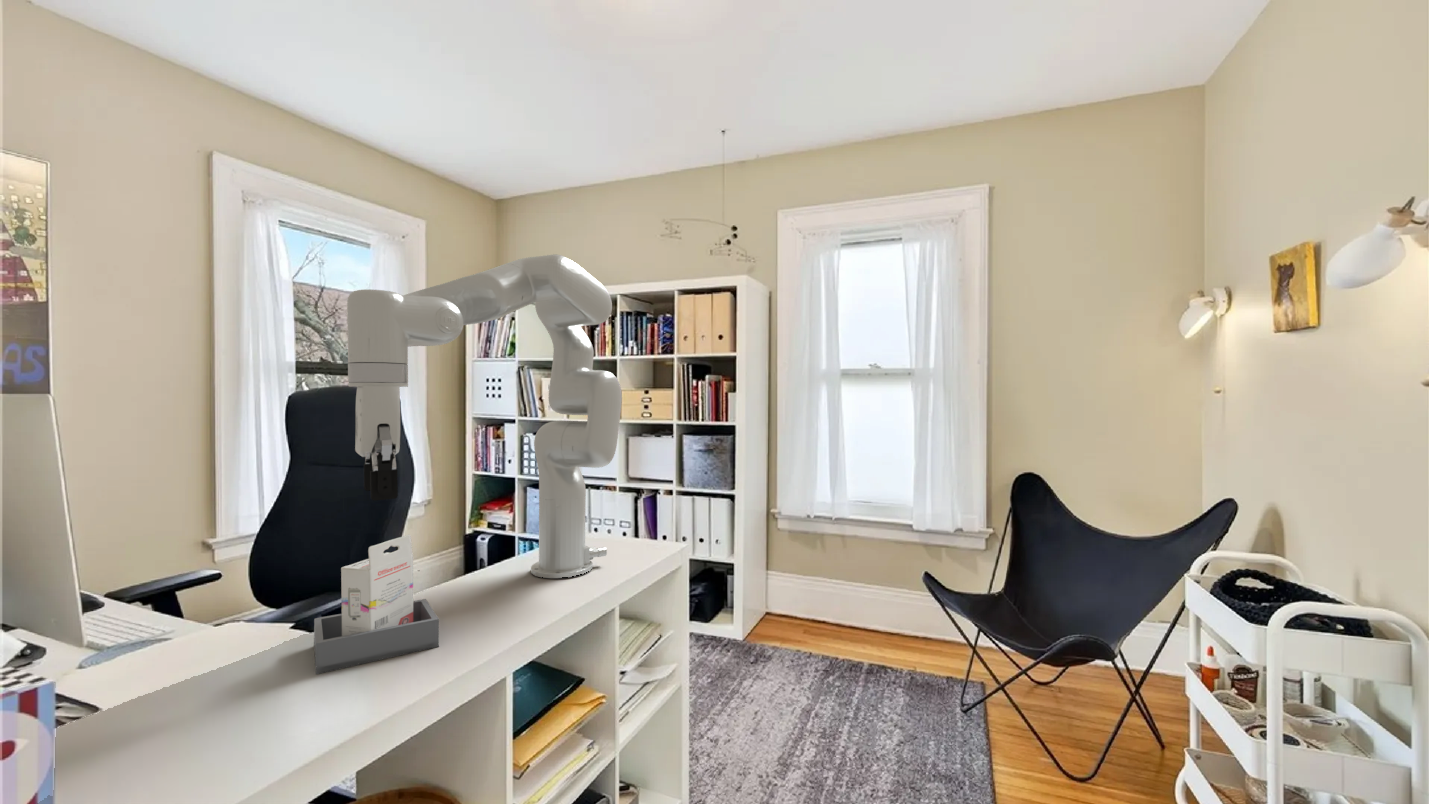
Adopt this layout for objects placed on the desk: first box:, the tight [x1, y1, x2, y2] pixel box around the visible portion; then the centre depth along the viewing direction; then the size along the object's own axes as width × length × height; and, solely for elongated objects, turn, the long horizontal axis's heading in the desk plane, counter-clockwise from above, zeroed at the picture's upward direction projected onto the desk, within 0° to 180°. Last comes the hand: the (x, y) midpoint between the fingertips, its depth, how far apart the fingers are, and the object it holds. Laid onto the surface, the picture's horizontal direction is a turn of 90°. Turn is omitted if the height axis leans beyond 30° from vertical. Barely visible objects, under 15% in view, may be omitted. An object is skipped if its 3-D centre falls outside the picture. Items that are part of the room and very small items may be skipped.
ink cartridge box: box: [340, 534, 414, 636], centre depth 83 cm, size 9×5×15 cm, turn 168°
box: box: [313, 598, 440, 675], centre depth 83 cm, size 15×11×4 cm
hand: (380, 494), depth 83 cm, fingers open, 9 cm apart
